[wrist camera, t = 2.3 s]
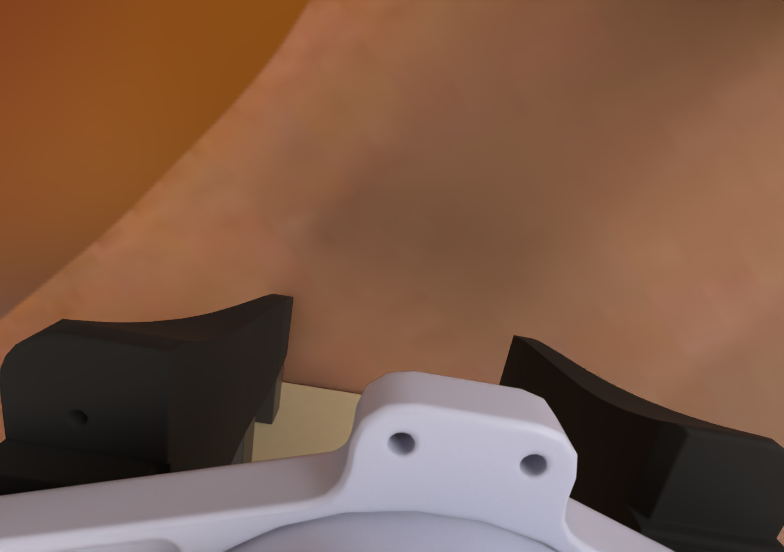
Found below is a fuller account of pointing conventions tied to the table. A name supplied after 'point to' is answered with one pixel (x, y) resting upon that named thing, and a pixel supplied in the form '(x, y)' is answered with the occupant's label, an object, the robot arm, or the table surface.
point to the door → (298, 423)
